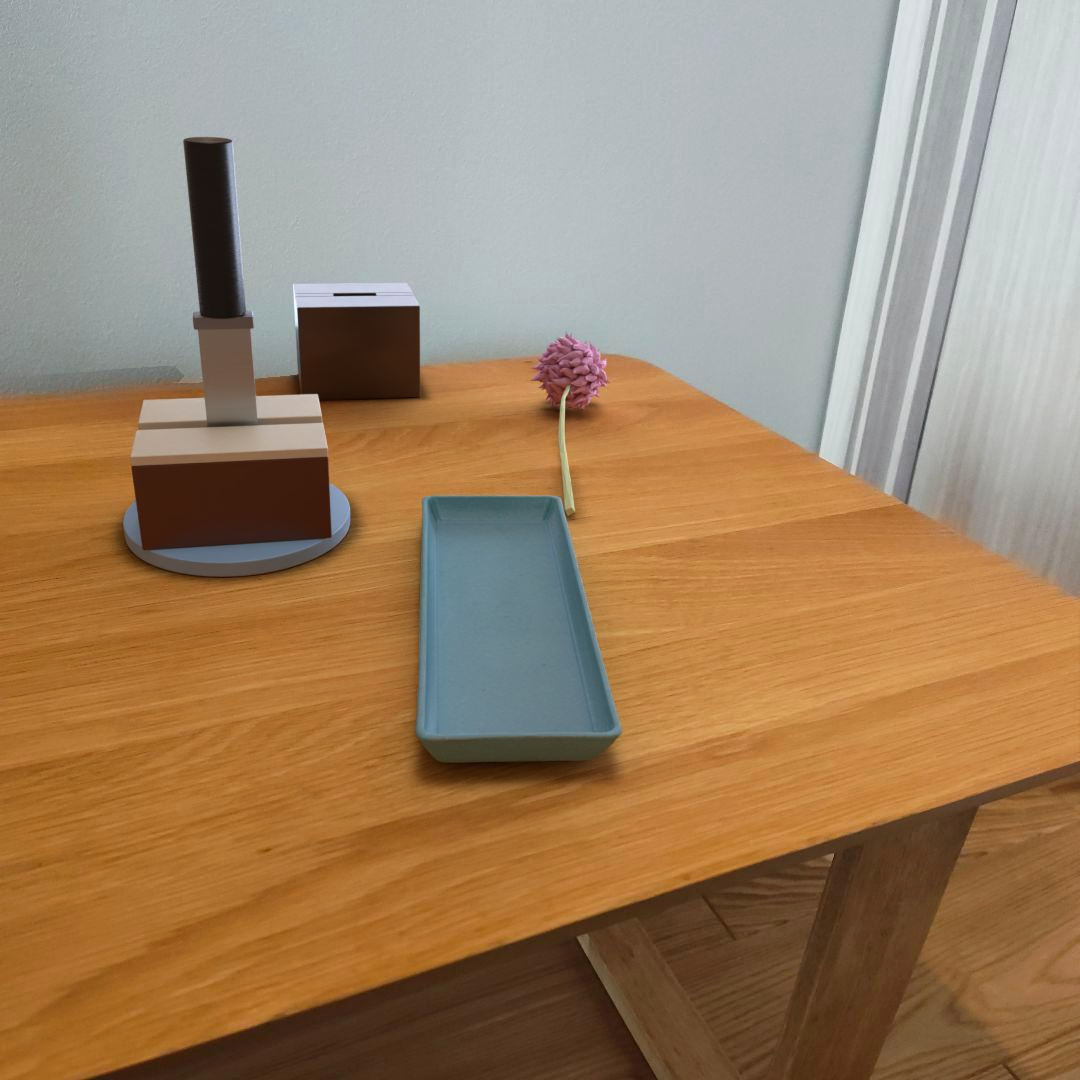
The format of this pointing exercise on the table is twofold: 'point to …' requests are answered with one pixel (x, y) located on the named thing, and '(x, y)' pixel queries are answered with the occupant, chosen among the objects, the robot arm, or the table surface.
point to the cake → (233, 489)
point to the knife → (220, 284)
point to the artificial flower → (570, 388)
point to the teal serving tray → (507, 636)
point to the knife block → (357, 340)
